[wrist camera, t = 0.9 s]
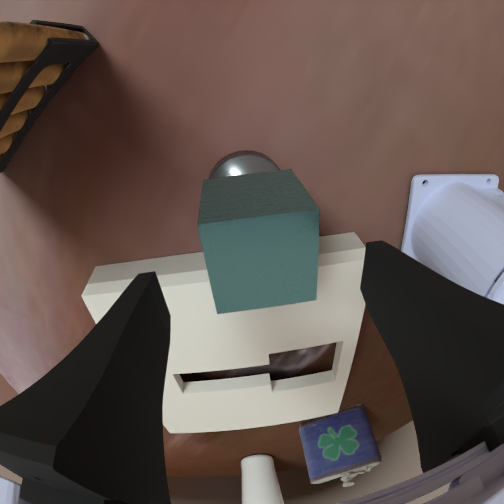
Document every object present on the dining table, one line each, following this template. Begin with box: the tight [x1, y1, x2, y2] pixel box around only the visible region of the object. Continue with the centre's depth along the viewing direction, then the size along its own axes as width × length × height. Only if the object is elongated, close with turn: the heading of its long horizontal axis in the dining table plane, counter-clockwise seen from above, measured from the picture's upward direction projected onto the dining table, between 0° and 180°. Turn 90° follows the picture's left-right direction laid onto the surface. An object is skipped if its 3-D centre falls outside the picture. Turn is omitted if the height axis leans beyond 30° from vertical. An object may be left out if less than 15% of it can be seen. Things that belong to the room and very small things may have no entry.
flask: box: [299, 404, 381, 487], centre depth 31 cm, size 9×3×11 cm, turn 110°
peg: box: [198, 151, 319, 314], centre depth 14 cm, size 4×4×8 cm
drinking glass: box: [241, 454, 284, 504], centre depth 36 cm, size 7×7×15 cm
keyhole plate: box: [82, 232, 366, 433], centre depth 24 cm, size 18×20×3 cm
